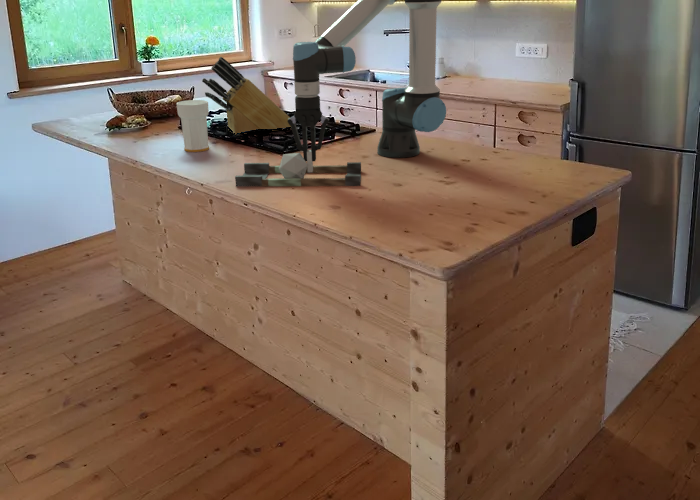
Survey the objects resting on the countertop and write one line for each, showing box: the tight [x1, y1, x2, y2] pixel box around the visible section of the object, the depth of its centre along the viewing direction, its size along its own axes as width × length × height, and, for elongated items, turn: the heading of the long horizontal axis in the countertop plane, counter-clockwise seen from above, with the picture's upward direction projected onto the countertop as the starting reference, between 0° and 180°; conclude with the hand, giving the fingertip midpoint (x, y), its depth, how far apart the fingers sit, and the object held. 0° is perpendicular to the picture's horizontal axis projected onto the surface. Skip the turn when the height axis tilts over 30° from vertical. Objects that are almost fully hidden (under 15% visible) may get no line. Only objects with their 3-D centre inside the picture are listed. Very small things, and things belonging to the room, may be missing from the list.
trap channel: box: [234, 161, 362, 187], centre depth 219 cm, size 38×17×3 cm, turn 88°
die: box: [279, 152, 308, 178], centre depth 217 cm, size 8×9×10 cm
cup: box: [176, 99, 210, 153], centre depth 256 cm, size 11×11×17 cm
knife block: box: [201, 56, 291, 135], centre depth 283 cm, size 11×35×31 cm, turn 114°
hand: (310, 171), depth 218 cm, fingers closed
